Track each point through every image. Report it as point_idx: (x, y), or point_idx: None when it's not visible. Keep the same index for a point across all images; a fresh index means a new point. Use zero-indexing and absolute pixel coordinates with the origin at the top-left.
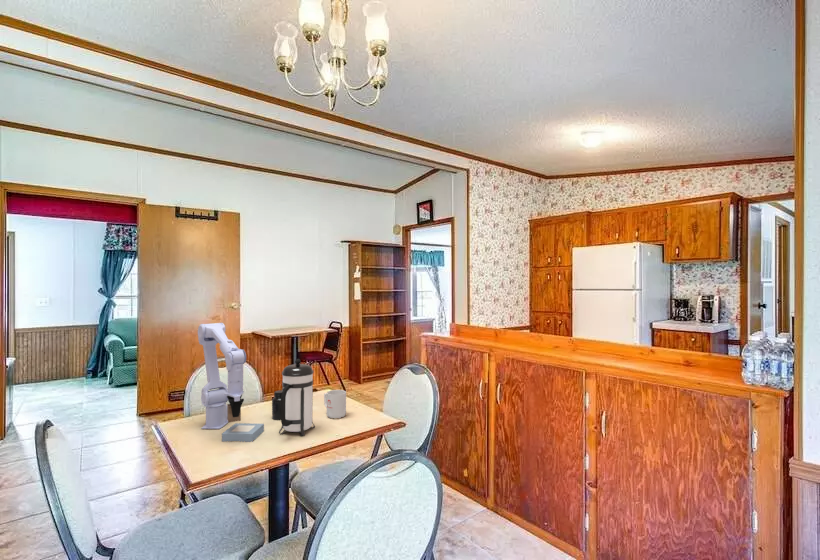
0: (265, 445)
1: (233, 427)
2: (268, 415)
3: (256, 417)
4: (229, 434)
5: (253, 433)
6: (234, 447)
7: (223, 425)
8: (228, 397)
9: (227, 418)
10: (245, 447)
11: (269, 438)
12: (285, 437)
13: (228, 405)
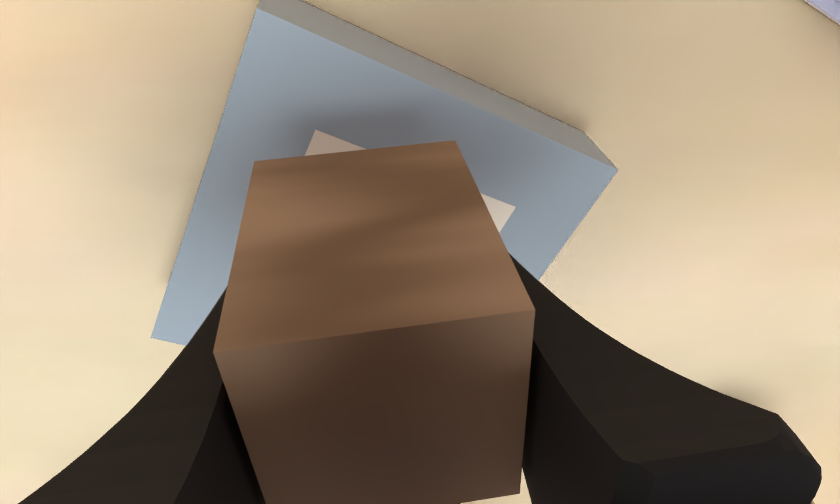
0: (51, 372)
1: (466, 153)
2: (802, 370)
3: (829, 297)
4: (225, 107)
5: (180, 341)
6: (20, 131)
7: (813, 5)
8: (621, 485)
9: (445, 148)
10: (11, 232)
11: None
12: None
13: (386, 342)
